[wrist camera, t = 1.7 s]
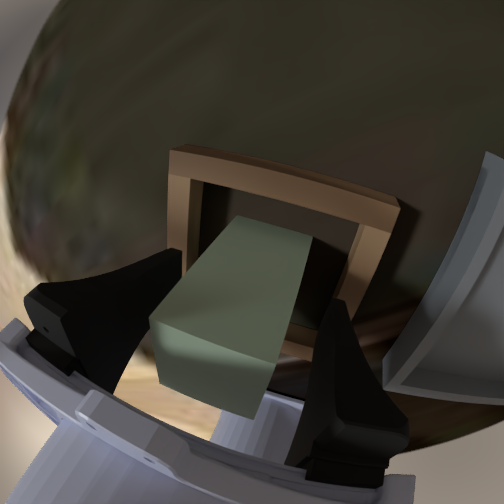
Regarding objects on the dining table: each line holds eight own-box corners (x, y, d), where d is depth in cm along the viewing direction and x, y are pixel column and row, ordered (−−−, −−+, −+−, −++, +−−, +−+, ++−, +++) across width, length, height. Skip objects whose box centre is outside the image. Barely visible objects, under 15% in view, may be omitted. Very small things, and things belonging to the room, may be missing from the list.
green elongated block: (294, 297, 16) (253, 420, 10) (228, 276, 17) (159, 383, 10) (312, 236, 14) (275, 364, 8) (236, 215, 15) (148, 317, 8)
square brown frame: (329, 348, 17) (326, 365, 16) (180, 299, 19) (169, 313, 18) (395, 196, 12) (400, 208, 11) (185, 144, 14) (169, 149, 12)
